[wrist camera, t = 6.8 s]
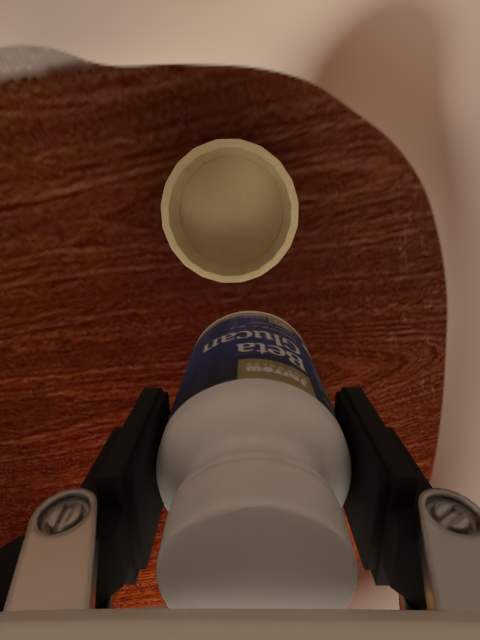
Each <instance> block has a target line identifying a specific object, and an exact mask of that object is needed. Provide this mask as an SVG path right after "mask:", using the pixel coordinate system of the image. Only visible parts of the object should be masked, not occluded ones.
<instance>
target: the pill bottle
mask: <svg viewBox="0 0 480 640" xmlns="http://www.w3.org/2000/svg"><path fill="white" fill-rule="evenodd" d="M351 468H352V465H351V457H350V453H349V449H348V445H347V442H346V440H345V437H344V434H343V431H342V429H341V426H340V424H339V422H338V419H337V417H336V415H335V412H334V410H333V408H332V405H331V403H330V401H329V399H328V396H327V394H326V392H325V389H324V387H323V385H322V382H321V380H320V378H319V375H318V373H317V371H316V368H315V366H314V364H313V361H312V359H311V357H310V354H309V352H308V349H307V347H306V345H305V343H304V342H303V340H302V338H301V337H300V335H299V334H298V333H297V332H296V330H295V329H294V328H293V327H292V326H290V325H289V324H288V323H287V322H285V321H284V320H282V319H281V318H279V317H276V316H274V315H272V314H269V313H265V312H259V311H242V312H236V313H232V314H229V315H227V316H224V317H222V318H220V319H218V320H217V321H215V322H214V323H212V324H211V325H210V326H209V327H208V328H207V329H206V330H205V331H204V332H203V333H202V334H201V336H200V337H199V339H198V341H197V343H196V345H195V347H194V349H193V352H192V354H191V357H190V360H189V363H188V366H187V368H186V371H185V374H184V377H183V380H182V382H181V385H180V388H179V391H178V394H177V396H176V399H175V402H174V405H173V408H172V410H171V412H170V415H169V419H168V421H167V424H166V426H165V429H164V433H163V436H162V438H161V442H160V445H159V449H158V453H157V460H156V479H157V485H158V488H159V492H160V496H161V498H162V501H163V503H164V505H165V507H166V509H167V511H168V516H167V519H166V523H165V528H164V532H163V536H162V541H161V546H160V550H159V554H158V559H157V568H156V571H157V572H156V577H157V582H158V587H159V590H160V593H161V595H162V597H163V599H164V601H165V602H166V604H167V605H168V607H169V608H170V609H347V607H348V605H349V603H350V602H351V600H352V598H353V596H354V593H355V591H356V585H357V578H358V566H357V560H356V556H355V553H354V549H353V546H352V542H351V539H350V536H349V532H348V529H347V526H346V521H345V517H344V514H343V511H342V507H343V505H344V503H345V500H346V498H347V495H348V492H349V488H350V484H351V475H352V470H351Z"/></svg>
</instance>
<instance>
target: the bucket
mask: <svg viewBox="0 0 480 640" xmlns="http://www.w3.org/2000/svg"><path fill="white" fill-rule="evenodd" d="M298 209H299V203H298V198H297V194H296V191H295V187H294V184H293V181H292V179H291V177H290V175H289V174H288V172H287V171H286V169H285V168H284V166H283V165H282V163H281V162H280V161H279V160H278V159H277V158H276V157H275V156H273V155H272V154H271V153H269V152H268V151H267V150H266V149H264V148H263V147H261V146H260V145H257V144H254V143H251V142H248V141H245V140H242V139H216V140H213V141H210V142H208V143H205V144H202V145H200V146H197V147H195V148H194V149H192V150H191V151H190V152H189V153H188V154H187V155H185V156H184V157H183V158H182V159H181V160H180V161H179V162H178V163H177V164H176V166H175V167H174V169H173V171H172V172H171V174H170V176H169V178H168V179H167V181H166V183H165V187H164V192H163V196H162V201H161V216H162V227H163V230H164V233H165V235H166V238H167V240H168V242H169V245H170V247H171V249H172V250H173V252H174V253H175V254H176V255H177V257H178V258H179V259H180V260H181V261H182V263H183V264H184V265H185V266H187V267H188V268H189V269H191V270H192V271H194V272H195V273H197V274H198V275H200V276H202V277H204V278H208V279H211V280H214V281H218V282H222V283H231V282H244V281H247V280H250V279H253V278H256V277H259V276H261V275H263V274H264V273H266V272H267V271H268V270H270V269H271V268H272V267H274V266H275V265H276V264H278V263H279V261H280V260H281V259H282V257H283V256H284V255H285V253H286V252H287V250H288V249H289V248H290V246H291V244H292V241H293V238H294V235H295V232H296V229H297V227H298Z"/></svg>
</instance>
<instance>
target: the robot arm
mask: <svg viewBox="0 0 480 640" xmlns="http://www.w3.org/2000/svg"><path fill="white" fill-rule="evenodd" d="M334 412H335V415H336V417H337V419H338V422H339V424H340V426H341V429H342V431H343V434H344V437H345V440H346V442H347V445H348V449H349V453H350V457H351V465H352V468H351V470H352V475H351V484H350V488H349V492H348V495H347V498H346V500H345V503H344V505H343V507H344V510H345V513H346V516H347V519H348V522H349V525H350V528H351V531H352V534H353V537H354V540H355V543H356V546H357V549H358V552H359V555H360V558H361V561H362V564H363V567H364V569H365V570H371V572H372V575H373V578H374V581H375V584H376V585H390V587H391V588H392V589H394V590H395V591H396V592H398V593H399V606H400V610H356V609H114V593H115V592H117V591H118V590H119V589H120V588H122V587H123V586H124V584H133V585H136V581H137V578H138V574H139V570H140V569H146V567H147V565H148V561H149V558H150V554H151V550H152V546H153V542H154V539H155V535H156V531H157V527H158V524H159V520H160V516H161V512H162V508H163V505H164V503H163V501H162V498H161V496H160V492H159V488H158V485H157V479H156V460H157V453H158V449H159V445H160V442H161V438H162V436H163V433H164V429H165V426H166V424H167V421H168V419H169V415H170V407H169V396H168V392H163V390H162V388H144V389H143V391H142V393H141V394H140V396H139V398H138V400H137V402H136V404H135V406H134V407H133V409H132V411H131V413H130V415H129V417H128V419H127V420H126V422H125V424H124V426H123V427H117V428H115V429H114V430H113V431H112V433H111V435H110V436H109V438H108V440H107V442H106V443H105V445H104V447H103V449H102V450H101V452H100V454H99V456H98V457H97V459H96V461H95V463H94V464H93V466H92V468H91V470H90V471H89V473H88V475H87V476H86V478H85V480H84V482H83V483H82V485H81V487H80V488H71V489H66V490H63V491H60V492H58V493H56V494H54V495H52V496H50V497H49V498H47V499H46V500H45V501H44V502H42V503H41V504H40V505H39V506H38V507H37V509H36V510H35V511H34V512H33V514H32V516H31V518H30V521H29V524H28V527H27V531H26V534H24V535H22V536H20V537H19V538H17V539H15V540H13V541H12V542H10V543H8V544H6V545H5V546H3V547H1V548H0V640H480V508H479V507H478V506H477V505H476V504H475V503H473V502H472V501H471V500H469V499H468V498H467V497H465V496H462V495H460V494H459V493H457V492H454V491H450V490H447V489H442V488H432V487H431V485H430V484H429V482H428V481H427V479H426V478H425V476H424V475H423V473H422V472H421V470H420V469H419V467H418V466H417V464H416V463H415V461H414V460H413V458H412V457H411V455H410V454H409V452H408V451H407V449H406V448H405V446H404V445H403V443H402V442H401V440H400V439H399V437H398V436H397V434H396V433H395V431H394V430H393V429H392V428H390V427H386V426H385V424H384V423H383V421H382V420H381V418H380V417H379V415H378V413H377V412H376V410H375V409H374V407H373V406H372V404H371V403H370V401H369V399H368V398H367V396H366V395H365V393H364V392H363V390H362V389H361V388H360V387H343V388H342V390H341V392H336V397H335V407H334Z"/></svg>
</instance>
